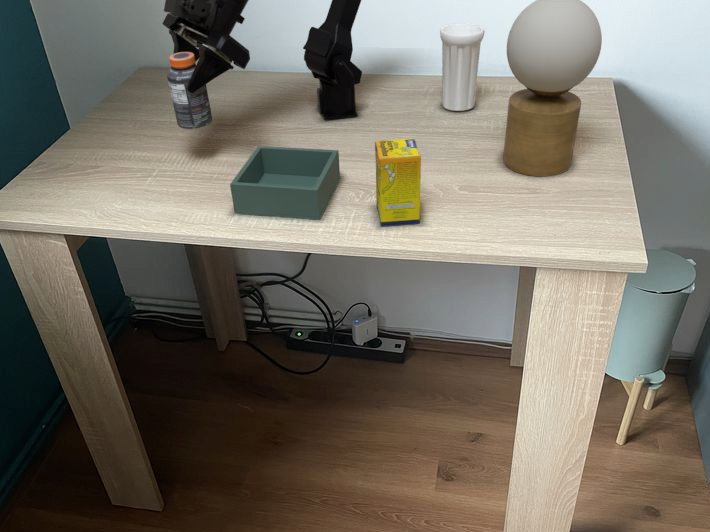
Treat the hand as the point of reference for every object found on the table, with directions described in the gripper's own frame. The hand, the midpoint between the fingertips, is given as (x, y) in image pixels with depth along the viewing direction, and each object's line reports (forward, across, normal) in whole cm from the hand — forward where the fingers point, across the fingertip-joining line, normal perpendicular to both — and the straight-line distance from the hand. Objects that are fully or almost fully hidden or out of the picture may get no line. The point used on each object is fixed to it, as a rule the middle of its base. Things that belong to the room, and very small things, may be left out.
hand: (180, 86), depth 118 cm
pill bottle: (+4, 0, +6) cm, 7 cm away
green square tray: (+6, +21, +13) cm, 26 cm away
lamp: (-22, +39, +41) cm, 61 cm away
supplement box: (0, +38, +19) cm, 42 cm away
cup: (-26, +14, +46) cm, 54 cm away
